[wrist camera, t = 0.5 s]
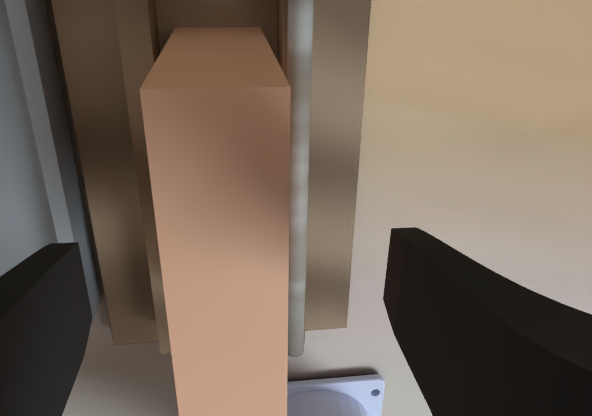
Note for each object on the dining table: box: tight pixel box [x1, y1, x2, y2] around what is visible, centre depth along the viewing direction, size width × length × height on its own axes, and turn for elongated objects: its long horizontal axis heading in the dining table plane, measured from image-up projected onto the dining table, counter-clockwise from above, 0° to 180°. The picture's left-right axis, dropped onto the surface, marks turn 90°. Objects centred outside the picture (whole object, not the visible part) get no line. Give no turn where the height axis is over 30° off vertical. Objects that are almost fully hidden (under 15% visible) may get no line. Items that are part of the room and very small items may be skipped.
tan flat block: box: [140, 27, 291, 416], centre depth 17 cm, size 10×3×9 cm, turn 179°
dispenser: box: [51, 0, 371, 357], centre depth 20 cm, size 18×11×4 cm, turn 179°
